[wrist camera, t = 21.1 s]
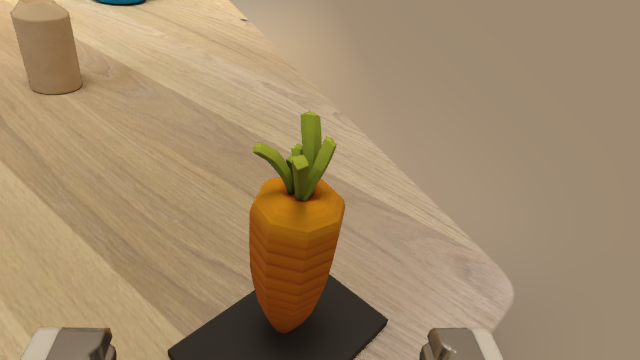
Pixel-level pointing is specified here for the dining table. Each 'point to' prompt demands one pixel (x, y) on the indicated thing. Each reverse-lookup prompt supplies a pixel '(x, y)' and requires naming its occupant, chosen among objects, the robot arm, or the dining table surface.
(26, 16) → the candle
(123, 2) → the vase
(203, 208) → the dining table surface
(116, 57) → the dining table surface
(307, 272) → the carrot
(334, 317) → the mat
